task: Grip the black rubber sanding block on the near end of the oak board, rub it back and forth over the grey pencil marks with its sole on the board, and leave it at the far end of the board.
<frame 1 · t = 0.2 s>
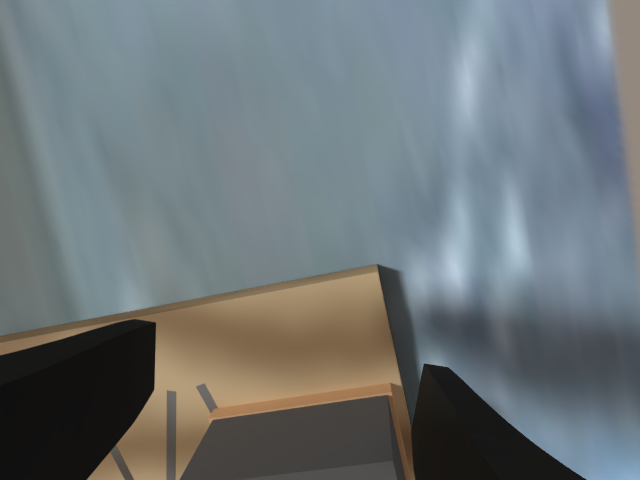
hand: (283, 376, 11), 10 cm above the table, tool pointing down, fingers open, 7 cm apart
oak board: (191, 441, 24), on the table
sanding block: (310, 440, 21), point 1 cm above the table, touching oak board
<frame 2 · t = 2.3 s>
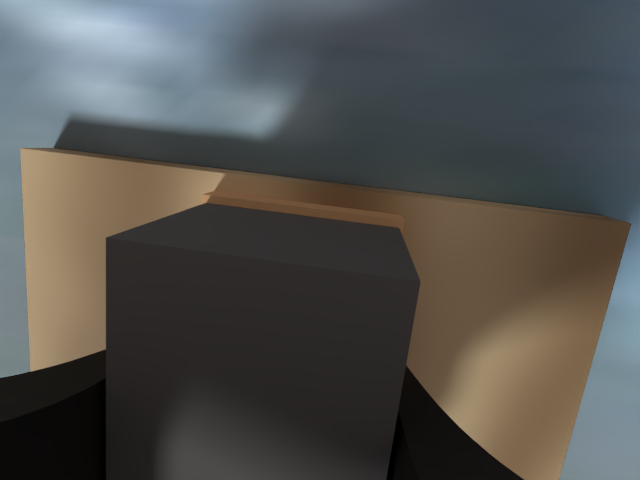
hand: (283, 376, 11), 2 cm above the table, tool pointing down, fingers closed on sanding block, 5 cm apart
sanding block: (289, 358, 12), point 1 cm above the table, touching gripper, oak board
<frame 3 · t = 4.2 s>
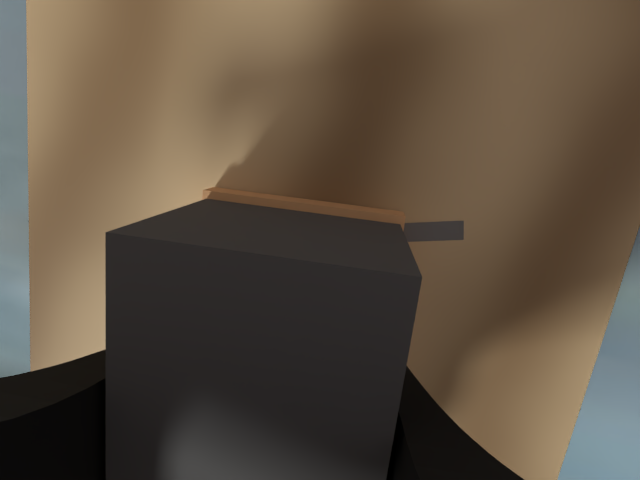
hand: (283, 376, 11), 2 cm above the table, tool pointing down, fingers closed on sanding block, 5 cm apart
oak board: (300, 321, 13), on the table
sanding block: (289, 355, 12), point 1 cm above the table, touching gripper
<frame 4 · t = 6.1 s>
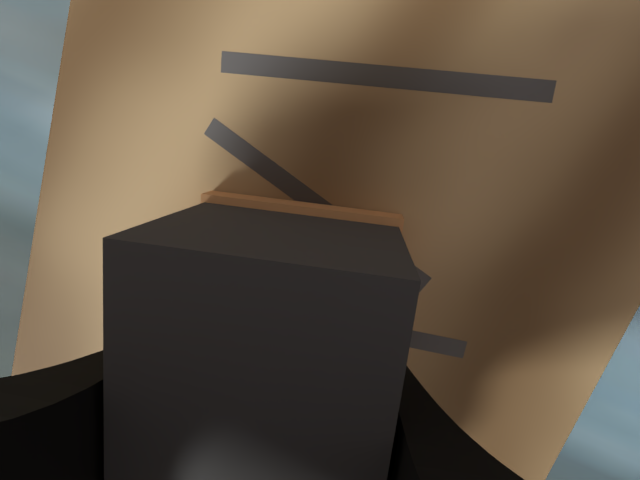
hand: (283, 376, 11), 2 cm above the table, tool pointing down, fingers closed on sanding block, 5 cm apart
oak board: (345, 189, 12), on the table
sanding block: (289, 358, 12), point 1 cm above the table, touching gripper
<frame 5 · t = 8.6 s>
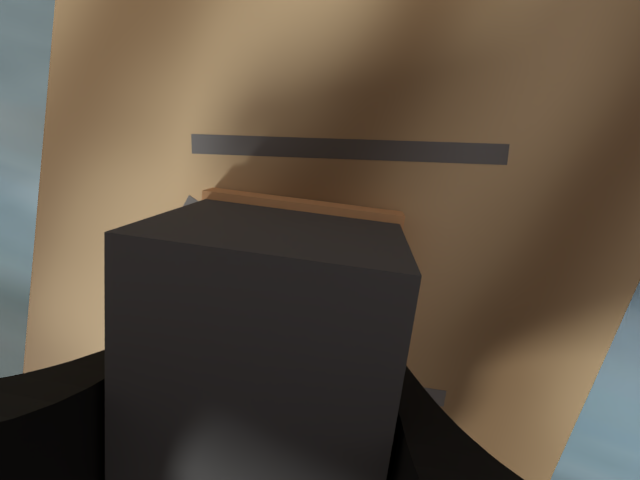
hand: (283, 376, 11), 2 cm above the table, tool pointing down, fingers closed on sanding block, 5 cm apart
oak board: (320, 249, 13), on the table
sanding block: (289, 355, 12), point 1 cm above the table, touching gripper
when the fingers open (2 cm above the table, at t = 10.2 s): sanding block stays where it is, resting on oak board.
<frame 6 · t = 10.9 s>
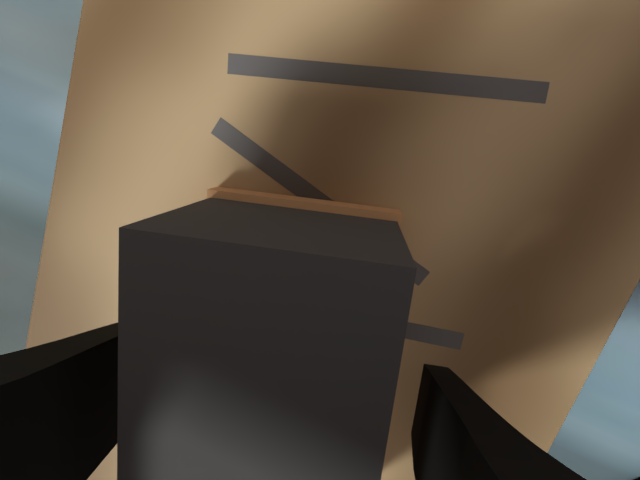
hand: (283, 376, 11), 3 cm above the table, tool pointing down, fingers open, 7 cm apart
oak board: (346, 187, 13), on the table
sanding block: (291, 349, 13), point 1 cm above the table, touching oak board
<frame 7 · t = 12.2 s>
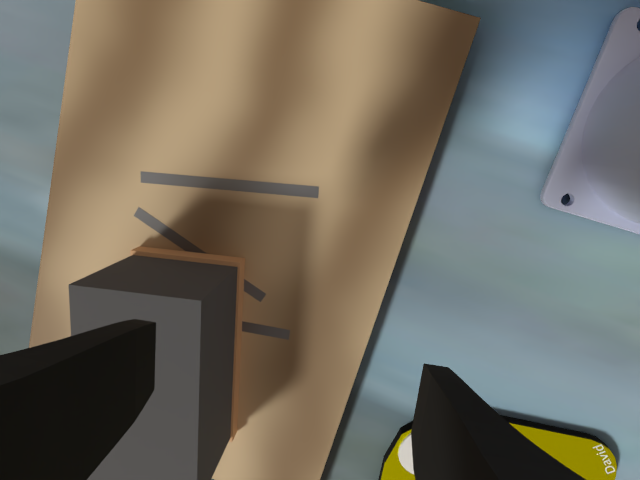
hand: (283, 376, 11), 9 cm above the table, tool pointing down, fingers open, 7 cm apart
oak board: (221, 242, 21), on the table
sanding block: (190, 342, 21), point 1 cm above the table, touching oak board
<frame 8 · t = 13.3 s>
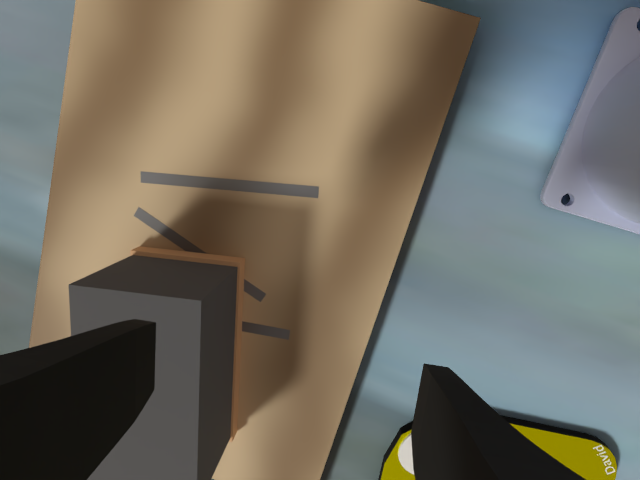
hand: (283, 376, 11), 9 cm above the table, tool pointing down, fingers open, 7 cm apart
oak board: (221, 242, 21), on the table
sanding block: (190, 342, 21), point 1 cm above the table, touching oak board
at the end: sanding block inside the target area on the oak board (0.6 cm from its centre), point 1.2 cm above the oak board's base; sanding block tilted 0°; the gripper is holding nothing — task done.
